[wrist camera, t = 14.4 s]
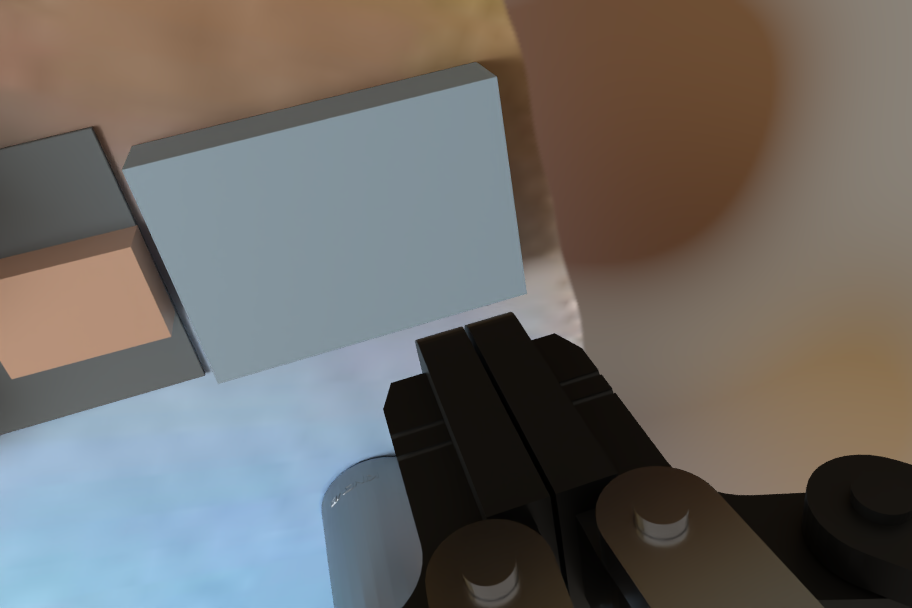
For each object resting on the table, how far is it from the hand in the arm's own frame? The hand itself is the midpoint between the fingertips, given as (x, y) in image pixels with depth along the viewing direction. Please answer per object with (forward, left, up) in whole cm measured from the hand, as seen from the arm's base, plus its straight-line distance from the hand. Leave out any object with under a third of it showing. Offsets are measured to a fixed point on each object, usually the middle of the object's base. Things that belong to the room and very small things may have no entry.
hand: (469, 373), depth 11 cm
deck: (-10, +5, -33) cm, 35 cm away
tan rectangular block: (-5, +20, -33) cm, 38 cm away
